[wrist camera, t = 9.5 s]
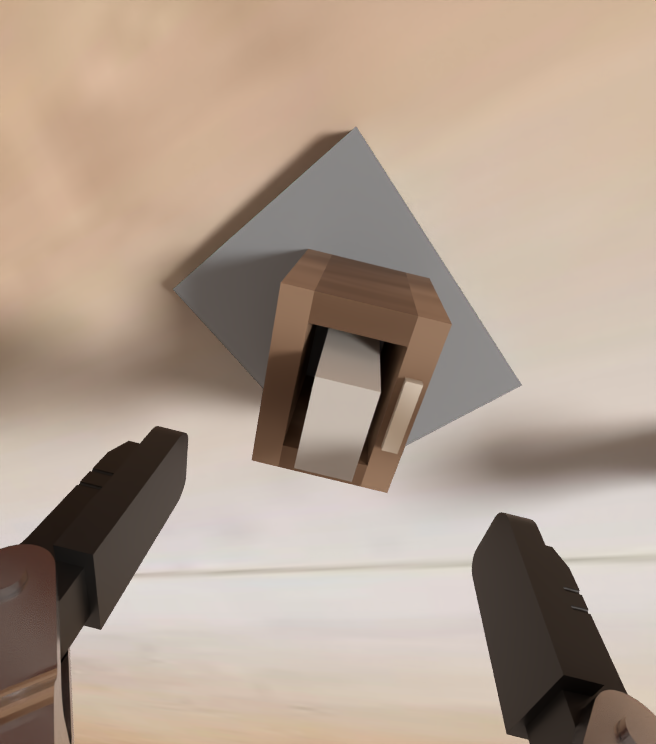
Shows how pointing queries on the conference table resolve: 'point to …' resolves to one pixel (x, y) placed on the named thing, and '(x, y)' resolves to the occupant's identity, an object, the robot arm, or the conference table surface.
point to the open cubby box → (361, 317)
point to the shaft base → (354, 233)
